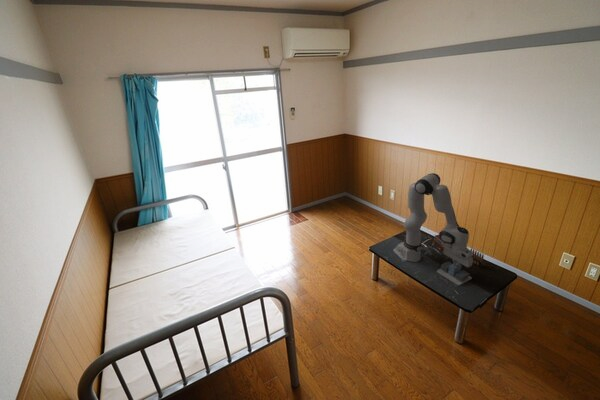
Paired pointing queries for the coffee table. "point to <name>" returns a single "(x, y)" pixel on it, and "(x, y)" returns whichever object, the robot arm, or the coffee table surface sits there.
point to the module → (454, 269)
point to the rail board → (458, 278)
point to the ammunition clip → (477, 259)
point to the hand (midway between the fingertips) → (455, 265)
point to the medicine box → (439, 242)
